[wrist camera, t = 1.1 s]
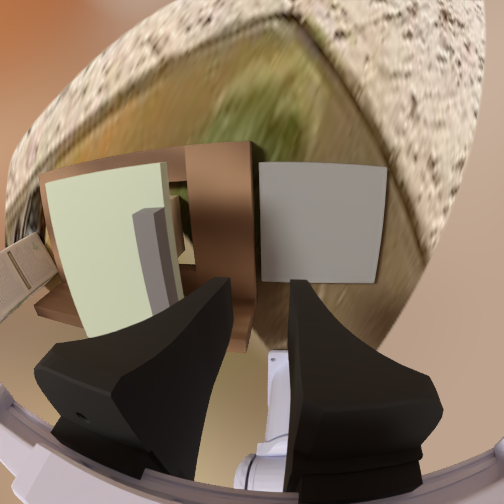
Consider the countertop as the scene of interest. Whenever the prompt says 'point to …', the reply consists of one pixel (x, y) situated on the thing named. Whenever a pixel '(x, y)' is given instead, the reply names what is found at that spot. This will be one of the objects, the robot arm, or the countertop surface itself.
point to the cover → (116, 244)
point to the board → (202, 225)
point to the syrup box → (23, 272)
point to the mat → (321, 221)
